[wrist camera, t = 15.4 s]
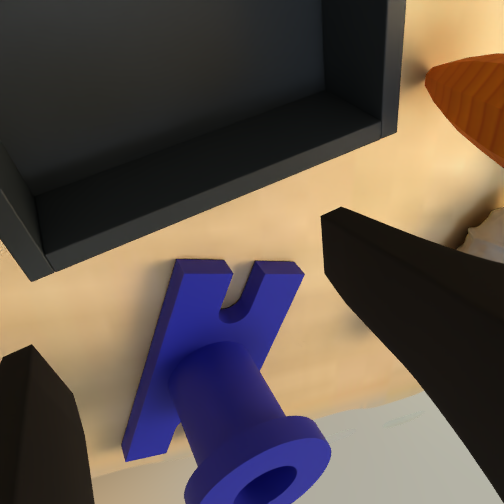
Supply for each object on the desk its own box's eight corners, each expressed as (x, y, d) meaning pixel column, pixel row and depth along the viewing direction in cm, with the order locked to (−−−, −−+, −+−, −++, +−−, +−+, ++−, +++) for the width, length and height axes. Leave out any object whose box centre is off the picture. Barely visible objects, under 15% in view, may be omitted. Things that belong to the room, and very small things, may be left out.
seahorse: (512, 71, 24) (386, 371, 31) (674, 117, 26) (522, 384, 34) (457, 68, 28) (359, 330, 36) (599, 107, 31) (480, 344, 38)
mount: (221, 424, 33) (275, 544, 27) (121, 445, 29) (158, 591, 23) (294, 261, 26) (389, 372, 20) (176, 258, 22) (249, 395, 16)
